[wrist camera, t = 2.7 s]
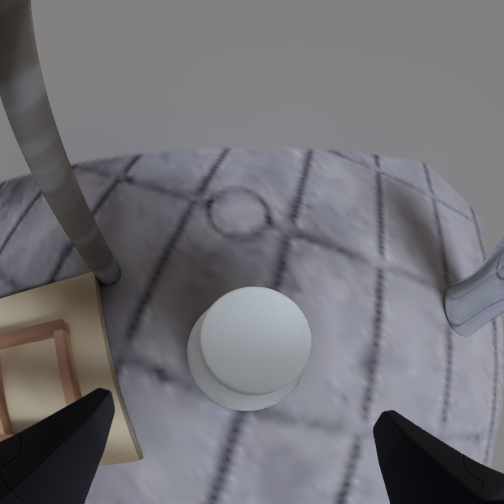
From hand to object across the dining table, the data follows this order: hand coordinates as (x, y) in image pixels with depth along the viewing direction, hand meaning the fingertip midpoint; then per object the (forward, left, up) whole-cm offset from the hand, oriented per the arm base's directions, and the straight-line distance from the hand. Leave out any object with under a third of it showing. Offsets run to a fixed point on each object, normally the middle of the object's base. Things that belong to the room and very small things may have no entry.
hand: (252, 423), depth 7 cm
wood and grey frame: (+11, +10, -10) cm, 18 cm away
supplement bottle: (+2, -2, -10) cm, 11 cm away
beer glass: (-12, -21, -10) cm, 27 cm away
